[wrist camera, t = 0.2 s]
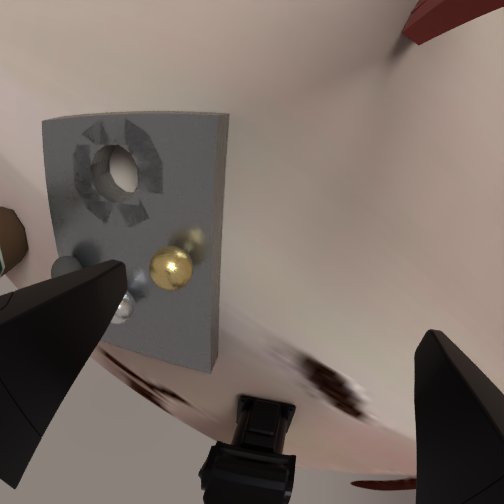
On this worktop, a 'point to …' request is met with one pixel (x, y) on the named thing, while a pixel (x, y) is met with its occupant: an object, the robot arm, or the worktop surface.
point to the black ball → (65, 266)
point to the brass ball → (171, 268)
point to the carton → (444, 16)
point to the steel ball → (125, 310)
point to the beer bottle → (11, 240)
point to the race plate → (146, 218)
